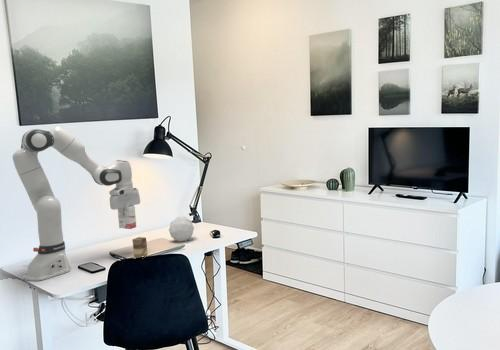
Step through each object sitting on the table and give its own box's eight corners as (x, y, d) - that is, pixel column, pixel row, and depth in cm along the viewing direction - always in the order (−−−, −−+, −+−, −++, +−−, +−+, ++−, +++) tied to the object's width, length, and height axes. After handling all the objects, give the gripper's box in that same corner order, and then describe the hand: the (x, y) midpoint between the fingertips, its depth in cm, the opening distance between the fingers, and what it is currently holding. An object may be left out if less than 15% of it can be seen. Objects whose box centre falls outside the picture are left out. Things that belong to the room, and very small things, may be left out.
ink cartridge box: (136, 227, 261) (134, 200, 259) (130, 229, 257) (128, 202, 255) (125, 225, 265) (123, 200, 263) (118, 228, 261) (116, 201, 259)
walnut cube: (140, 249, 249) (139, 239, 248) (133, 248, 251) (132, 239, 251) (147, 246, 253) (146, 237, 253) (139, 246, 256) (138, 237, 255)
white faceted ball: (179, 250, 281) (162, 234, 275) (180, 236, 294) (165, 220, 288) (198, 238, 278) (181, 221, 272) (199, 224, 291) (183, 207, 285)
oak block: (141, 258, 249) (140, 249, 249) (134, 257, 252) (133, 248, 251) (147, 255, 254) (147, 246, 253) (140, 255, 256) (139, 246, 256)
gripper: (133, 187, 269) (135, 211, 270) (106, 192, 251) (109, 218, 252) (141, 187, 266) (143, 211, 267) (115, 192, 248) (118, 218, 249)
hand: (126, 214), depth 260 cm, fingers closed on ink cartridge box, 5 cm apart
